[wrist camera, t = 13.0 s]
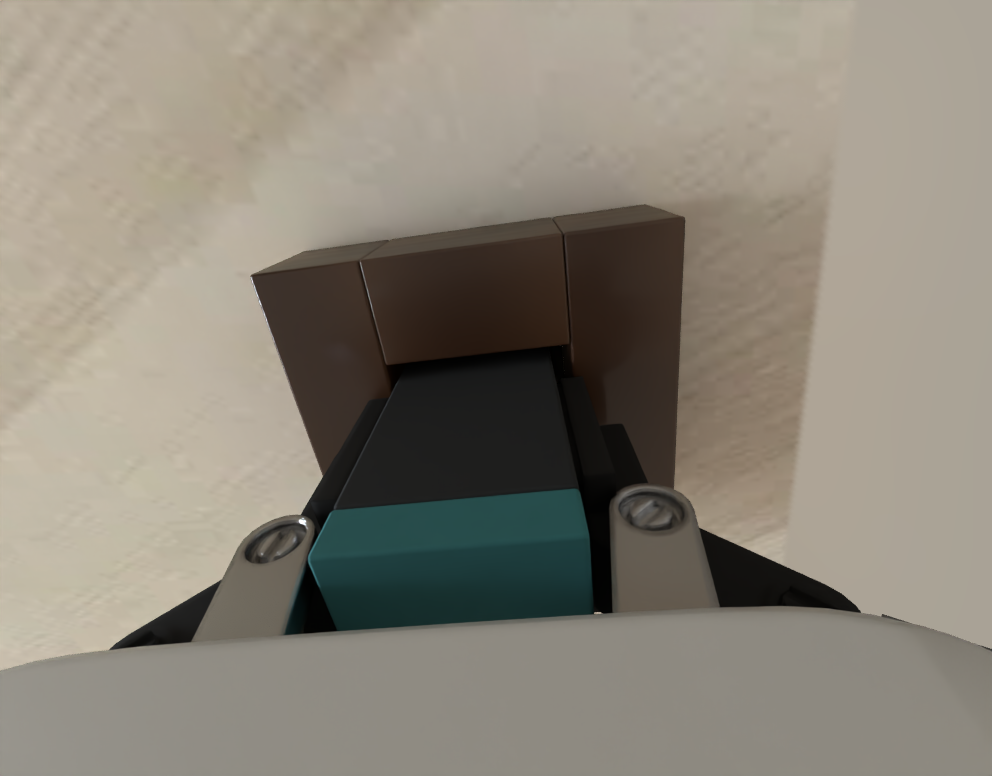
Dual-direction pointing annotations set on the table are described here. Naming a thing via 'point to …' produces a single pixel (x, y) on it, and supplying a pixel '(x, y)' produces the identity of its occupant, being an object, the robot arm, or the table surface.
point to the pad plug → (460, 503)
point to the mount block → (490, 316)
